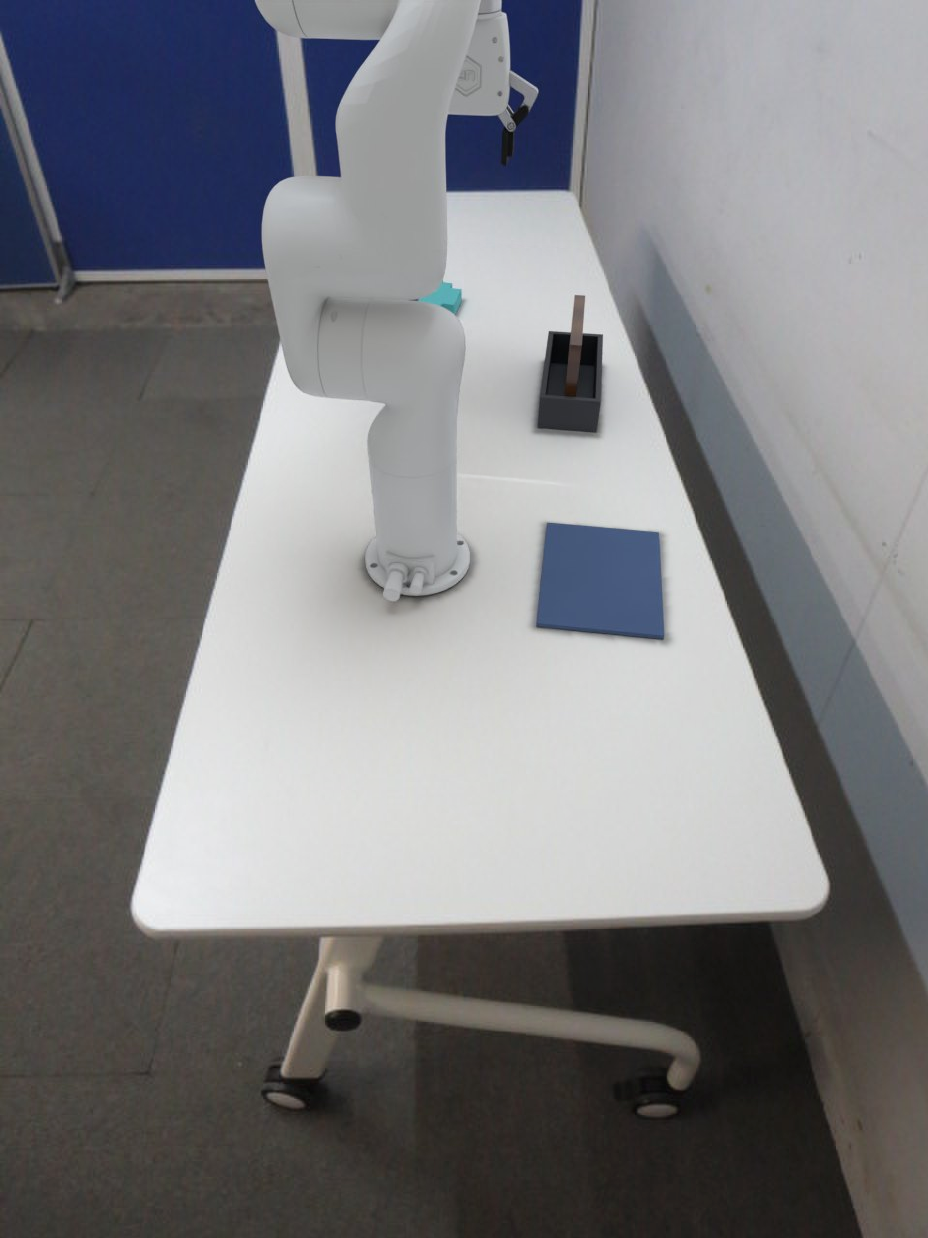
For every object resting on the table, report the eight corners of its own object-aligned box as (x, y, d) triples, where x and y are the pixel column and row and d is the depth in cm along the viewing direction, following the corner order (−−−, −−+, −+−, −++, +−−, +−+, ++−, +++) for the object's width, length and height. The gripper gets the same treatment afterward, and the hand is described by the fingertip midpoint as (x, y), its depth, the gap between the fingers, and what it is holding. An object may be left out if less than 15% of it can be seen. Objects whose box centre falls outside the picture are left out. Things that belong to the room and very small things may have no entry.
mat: (663, 639, 88) (664, 635, 88) (536, 626, 89) (536, 623, 89) (658, 535, 101) (659, 531, 100) (546, 525, 102) (547, 522, 101)
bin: (596, 435, 116) (600, 401, 112) (537, 431, 117) (539, 397, 113) (598, 366, 131) (603, 334, 127) (546, 363, 132) (548, 330, 128)
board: (573, 422, 118) (581, 345, 109) (562, 421, 118) (570, 344, 109) (577, 368, 129) (585, 295, 120) (567, 368, 129) (574, 294, 121)
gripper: (390, 2, 92) (399, 167, 104) (541, 6, 90) (531, 173, 103) (403, -8, 97) (409, 149, 109) (545, -5, 96) (535, 155, 108)
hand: (468, 160), depth 106 cm, fingers open, 9 cm apart
